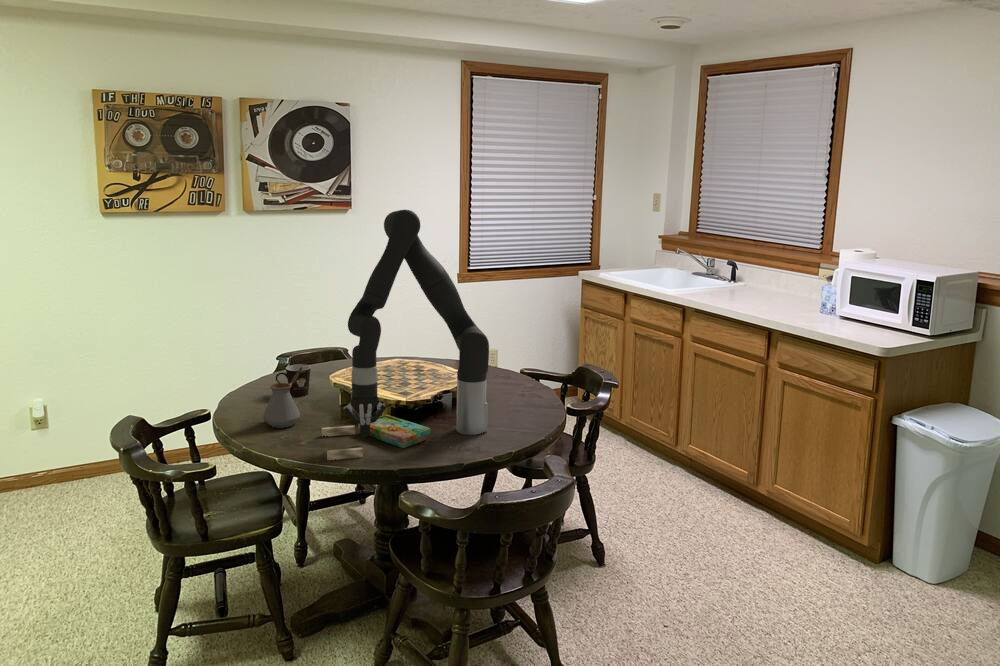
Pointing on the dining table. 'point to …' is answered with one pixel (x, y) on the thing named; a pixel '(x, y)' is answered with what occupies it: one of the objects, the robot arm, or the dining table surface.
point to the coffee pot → (282, 405)
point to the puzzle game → (398, 431)
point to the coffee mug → (298, 379)
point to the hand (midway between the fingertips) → (364, 435)
